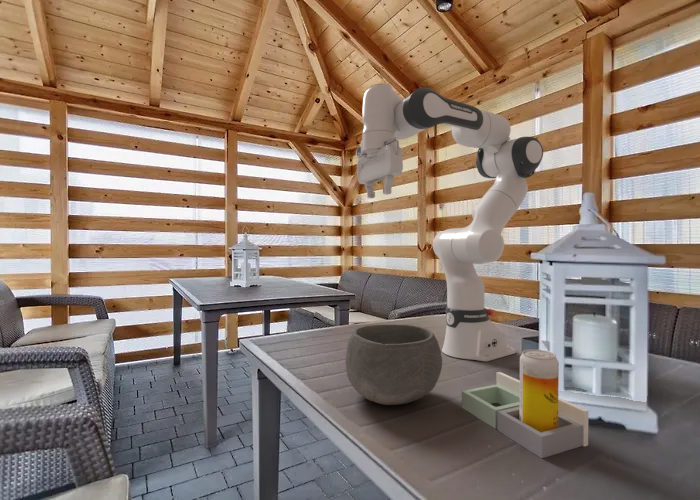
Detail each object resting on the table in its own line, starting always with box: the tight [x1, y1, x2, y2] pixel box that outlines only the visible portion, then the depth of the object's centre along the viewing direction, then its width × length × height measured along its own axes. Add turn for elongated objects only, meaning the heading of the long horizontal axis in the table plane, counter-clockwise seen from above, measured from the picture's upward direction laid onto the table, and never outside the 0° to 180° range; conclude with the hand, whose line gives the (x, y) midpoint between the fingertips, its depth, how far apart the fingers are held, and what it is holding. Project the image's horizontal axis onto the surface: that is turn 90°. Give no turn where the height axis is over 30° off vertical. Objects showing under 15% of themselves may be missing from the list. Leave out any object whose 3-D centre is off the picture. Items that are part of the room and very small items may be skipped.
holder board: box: [461, 371, 589, 459], centre depth 70 cm, size 10×20×6 cm, turn 22°
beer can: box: [519, 348, 560, 432], centre depth 65 cm, size 6×6×15 cm
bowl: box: [345, 323, 443, 406], centre depth 81 cm, size 21×21×15 cm
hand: (378, 196), depth 101 cm, fingers open, 8 cm apart
